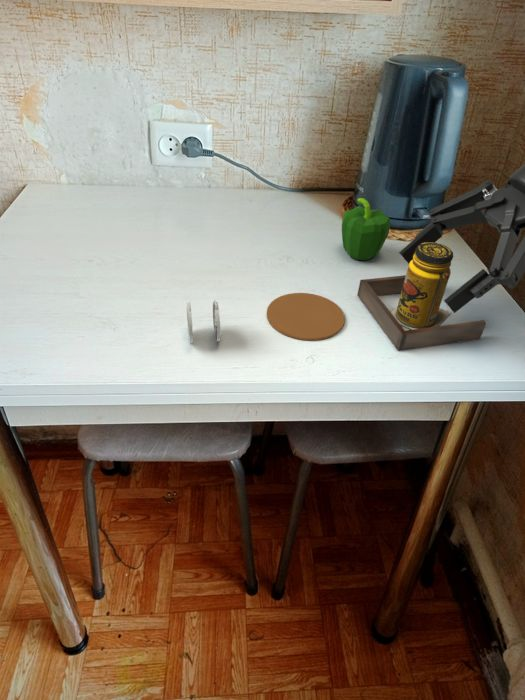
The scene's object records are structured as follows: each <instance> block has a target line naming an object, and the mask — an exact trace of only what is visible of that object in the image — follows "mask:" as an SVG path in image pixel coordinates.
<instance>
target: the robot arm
mask: <svg viewBox="0 0 525 700" xmlns="http://www.w3.org/2000/svg"><path fill="white" fill-rule="evenodd" d="M428 215H429V217H430V222H429V223H428V224H427V225H426V226H425V227H423V229H422V230H420V231H419V232H418V233H417V234H415V236H414V239H413V240H412V241H410V242H409V243H408V244H407V245H406V246H405V247H403V248H402V249H401V250H399V252H398V254H400V256H401V257H402V258H403V260H405V261H406V263H407V264H408V265H409V263H410V261H411V260H413V256H414V254H415V249H416V247H417V246H418V245H419V244H421V243H424V242H435V243H437V242H438V241H439V240H440V239H441V238H442V237H443V234H444V232H446V231H449V230H453V229H459V228H463V227H465V226H466V227H467V226H471V225H474V224H479V223H482V224H488V225H490V226H491V227H492V228H494V229H497V231H498V233H500V236H499V238H498V241H497V246H496V248H495V251H494V254H493V257H492V261H491V265H490V267H487V268H486V270H485V268H482V269H481V270H480V271H478V273H476V274H474V276H472V277H471V278H470V279H468V280H467V281H465V283H464V284H462V285H461V286H460V287H458V288H457V289H456V290H454V291H453V292H452V293H451V294H450V295H449V296H447V297H446V298H445V299H444V300H443V301H444V303H445V304H446V305H447V307H448V308H449V309H450V310H451V312H452V313H454V314H455V313H457V312H458V311H459V310H461V309H462V308H463V307H465V306H466V305H468V303H470V302H471V301H472V300H474V299H476V300H477V299H480V298H482V297H484V296H485V295H486V294H487V293H489V292H490V291H491V290H492V289H494V288H495V287H496V286H498V285H503V286H507V288H508V289H514V288H516V287H517V286H518V283H519V282H520V281H521V279H522V278H523V275H524V274H525V235H524V236H523V238H522V239H521V241H520V237H521V234H522V230H523V229H525V163H524V164H523V165H521V166H520V167H519V168H517V170H515V171H514V172H513V173H511V174H510V176H509V178H508V181H507V182H506V185H505V186H503V187H501V188H499V189H498V188H497V187H496V186H495V184H494V182H493V181H492V179H486V180H485V181H484V182H482V183H480V184H479V185H478V186H476V187H475V188H473V189H471V190H469V191H467V192H464V193H463V194H460V195H458V196H456V197H454V198H452V199H450V200H447V201H445V202H443V203H441V204H439V205H437V206H435V207H432V208H431V209H430V210H429V211H428ZM519 241H520V242H519ZM518 242H519V244H518ZM517 244H518V245H517ZM516 245H517V248H516V249H515V247H516Z"/></svg>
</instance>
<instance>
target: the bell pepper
mask: <svg viewBox="0 0 525 700" xmlns="http://www.w3.org/2000/svg"><path fill="white" fill-rule="evenodd" d="M357 203H358V204H361V205H363V207H362V206H360V205H358V206H355V207H354V208H351V209H346V210H345V212H344V213H343V215H342V220H341V241H342V247H343V249H344V251H345V252H346V253H347V255H348V256H349V257H350V258H351V259H354V260H357V261H358V260H359V261H367V260H371V258H373V257H375V256H376V255H378V254H379V252H381V249H382V248H383V246H384V244H385V242H386V240H387V238H388V236H389V233H390V229H391V225H392V224H391V218H390V217H388V216H387V215H386V214H385V213H384V212H383V210H382V209H371V205H370V203H369V201H368V200H366V198H363V197H359V198H357Z"/></svg>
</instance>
